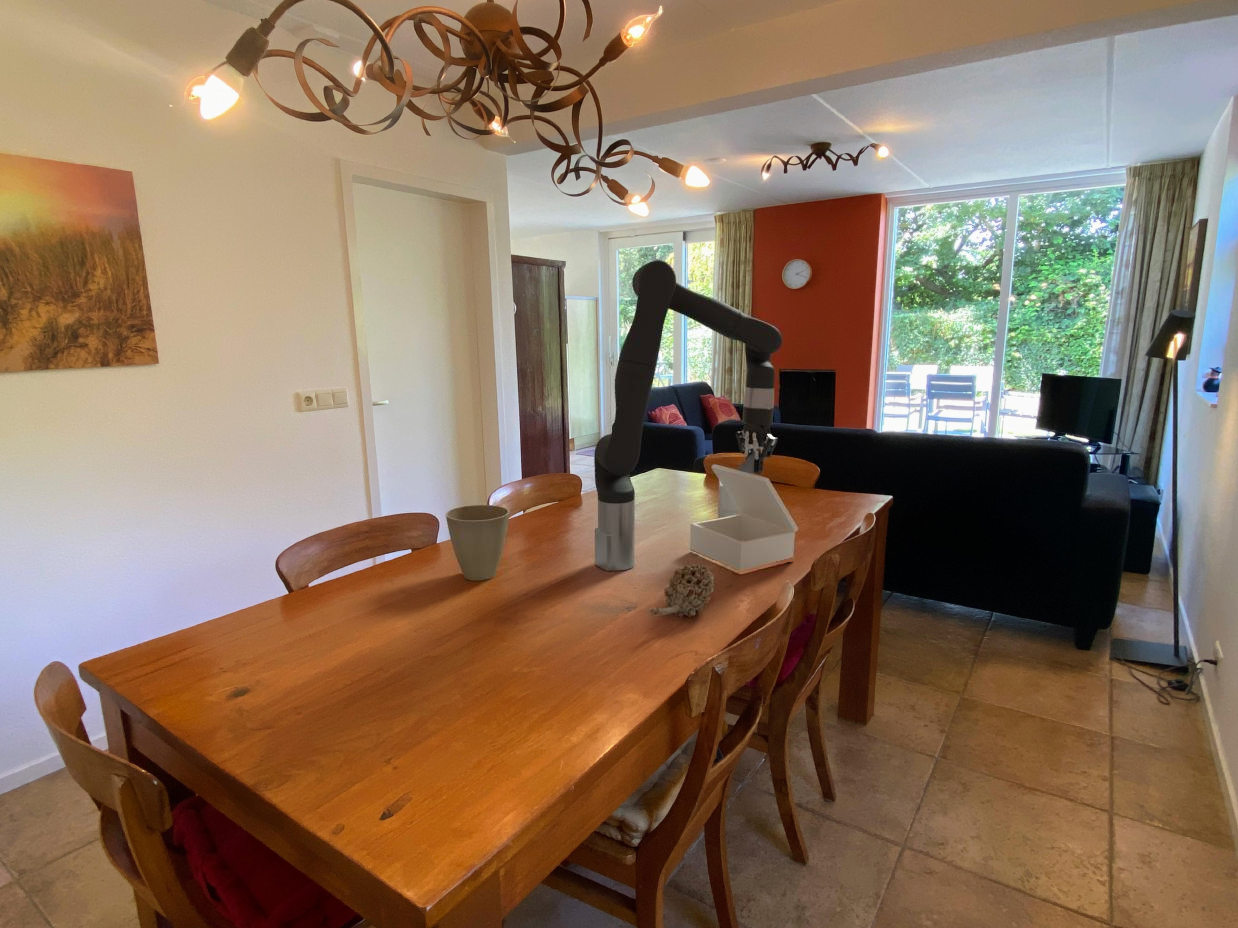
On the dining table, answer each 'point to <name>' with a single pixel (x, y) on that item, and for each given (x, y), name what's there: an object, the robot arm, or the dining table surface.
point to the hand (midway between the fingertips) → (753, 472)
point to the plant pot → (478, 538)
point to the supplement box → (726, 504)
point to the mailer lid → (754, 494)
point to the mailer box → (725, 546)
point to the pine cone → (687, 591)
